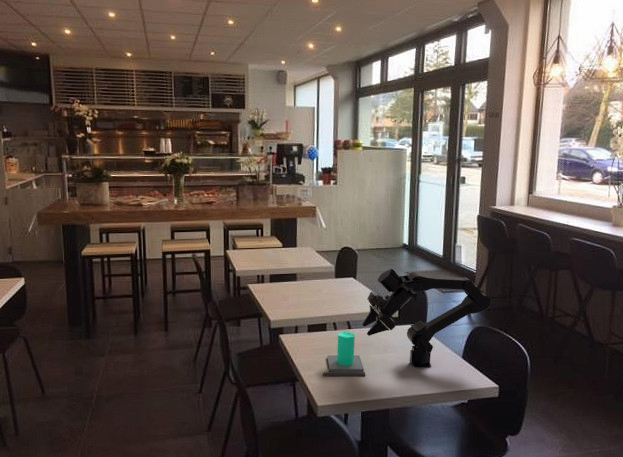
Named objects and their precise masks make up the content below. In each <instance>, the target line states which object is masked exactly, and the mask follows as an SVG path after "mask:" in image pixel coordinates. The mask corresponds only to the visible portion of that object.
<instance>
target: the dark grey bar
mask: <svg viewBox="0 0 623 457" xmlns="http://www.w3.org/2000/svg"><path fill="white" fill-rule="evenodd" d="M322 376H323V377H366V372H365V371H364V372H330V371H326V372H325V371H324V372H322Z"/></svg>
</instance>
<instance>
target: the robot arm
mask: <svg viewBox="0 0 623 457" xmlns="http://www.w3.org/2000/svg"><path fill="white" fill-rule="evenodd" d="M377 282H378V283H379V284H380V285H381V286H382V287H383V288H384V289H385V291H387V293H391V294H390V295H385V296H382V295H381V294H378V293H376V292H374V291H370V292H369V294H368V296H367V301H368V303H369V311H368V314H367V316H366V318H365V319H364V320H363V322H362V324H361V325H362V326H363V327H367V326H369V325H371V324H372V326H371V327H370V329H369V330H368V331H367V332H366V335H367V336H368V337H369V336H372V335H376V334H379V333H382V332H387V331H393V329H395V328H396V322H395V321H394V319H393V318H394V317H393V316H394V315H395V314H396V313H397V312H398V311H399V312H401V311H402V308H403V306H404V305H405V304H407V303H408V302H409V301H410V300H411V299H413V301H415V302H417V301H418V292H425V291H430V290H434V289H436V290H437V289H440V290H443V289H444V290H460V291H463V292H464V293H465V295H466V296H465V297H464V298H463V300H462V302H460V303H459V304H457V305H455V306H454V307H452V308H451V309H449V310H447V311H445V312H444V313H442V314H439V315H438V316H437V317H434V318H433V319H431V320H430V321H427V322H423V321H422V320H421V319H420V320H418V321H417V322H415V323H413V324H410V327H409V328H408V329H407V332H406V337H407V338H408V340H409V341H410V342H411V344H412V346H411V349H410V351H409V361H410V363H411V364H412V367H413V368H421V367H422V368H423V367H424V368H431V367H432V364H431V355H432V354H431V353H432V351H433V348H434V346H433V344H432V343H431V342H430V341H431V340H432V339H433V338H434V336H435V335H436V334H437V333H439V332H441V331H442V330H444V329H445V328H448V327H449V326H451V325H452V324H455V323H456V322H458V321H460V320H462V319H463V318H464V317H467V316H468V315H473V314H478V313H481V312H484V311H486V310H488V309H490V307H491V306H490V305H491V299H490V297H489V296H488V295H486V294H485V293H483V292H481V290H479V289H478V287H477V286H475V284H474V283H473V281H472V280H471V279H469V278H467V277H464V276H462V277H453V276H432V275H429V274H425V273H423V272H422V273H421V272H418V271H412V272H410V273H409V274H407V275H401V276H399V275H398V274H397V272H396V270H394V269H393V267H391V268H390V269H388V270H385V271H384V272H382V273H381V274H380V275H379V277H378V279H377ZM403 285H405V286H403Z"/></svg>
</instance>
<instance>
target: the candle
mask: <svg viewBox="0 0 623 457" xmlns="http://www.w3.org/2000/svg"><path fill="white" fill-rule="evenodd" d="M354 355H355V334H354V333H352V332H349V331H348V330H346V331H341V332H339V333H338V334H337V362H338V363H339V364H340V365H352V364H353V363H354Z"/></svg>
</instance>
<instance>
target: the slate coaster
mask: <svg viewBox="0 0 623 457" xmlns="http://www.w3.org/2000/svg"><path fill="white" fill-rule="evenodd" d="M326 357H327V362H328V363H327V365H328V369H329V372H365V369H364V365H363V363H362V359H361V357H360V354H359V355H358V354H357V355H356V354H354V363H353V364H352V365H340V364H339V363H338V362H337V355H336V354H335V355H331V354H330V355H328V354H327V356H326Z"/></svg>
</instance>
